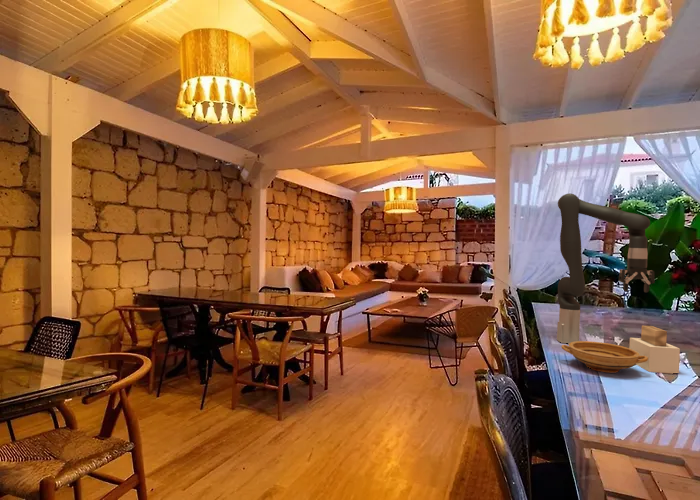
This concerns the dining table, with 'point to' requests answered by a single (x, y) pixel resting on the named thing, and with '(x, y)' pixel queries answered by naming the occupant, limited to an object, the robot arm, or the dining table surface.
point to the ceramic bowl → (604, 355)
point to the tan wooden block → (654, 336)
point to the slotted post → (657, 356)
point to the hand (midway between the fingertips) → (636, 291)
